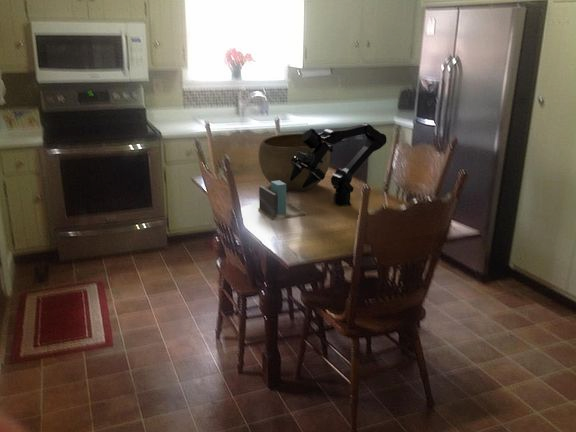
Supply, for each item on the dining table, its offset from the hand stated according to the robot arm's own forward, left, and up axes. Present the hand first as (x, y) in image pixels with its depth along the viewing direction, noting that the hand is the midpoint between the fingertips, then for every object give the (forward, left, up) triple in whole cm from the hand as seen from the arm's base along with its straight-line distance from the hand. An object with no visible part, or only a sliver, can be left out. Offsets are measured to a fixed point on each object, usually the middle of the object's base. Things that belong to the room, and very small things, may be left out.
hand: (296, 183), depth 238 cm
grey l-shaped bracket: (+7, +2, -12) cm, 14 cm away
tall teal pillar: (+8, +3, -11) cm, 14 cm away
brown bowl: (-6, -37, -13) cm, 40 cm away
